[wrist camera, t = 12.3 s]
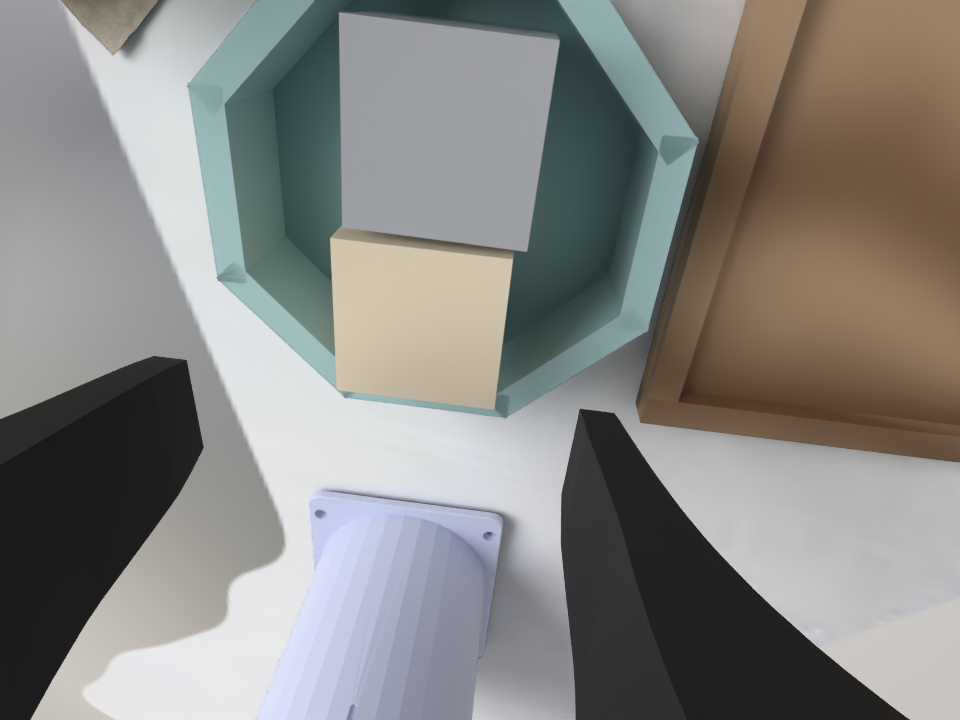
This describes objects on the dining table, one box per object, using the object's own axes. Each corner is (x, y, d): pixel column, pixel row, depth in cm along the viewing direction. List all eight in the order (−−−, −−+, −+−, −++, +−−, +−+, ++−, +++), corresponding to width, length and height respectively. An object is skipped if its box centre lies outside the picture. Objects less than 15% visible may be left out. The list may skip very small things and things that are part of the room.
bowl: (609, 370, 20) (621, 433, 17) (277, 330, 21) (232, 384, 18) (706, -35, 14) (749, -46, 11) (235, -82, 15) (157, -105, 12)
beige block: (504, 319, 19) (494, 409, 15) (382, 304, 19) (336, 390, 15) (520, 195, 17) (512, 259, 13) (382, 180, 17) (329, 238, 13)
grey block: (392, 171, 17) (342, 227, 13) (397, 10, 15) (339, 12, 11) (530, 189, 17) (526, 252, 13) (554, 30, 15) (560, 40, 11)
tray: (980, 445, 21) (1003, 467, 20) (635, 402, 21) (640, 422, 20) (1343, -93, 13) (1412, -101, 12) (786, -146, 13) (807, -159, 12)
